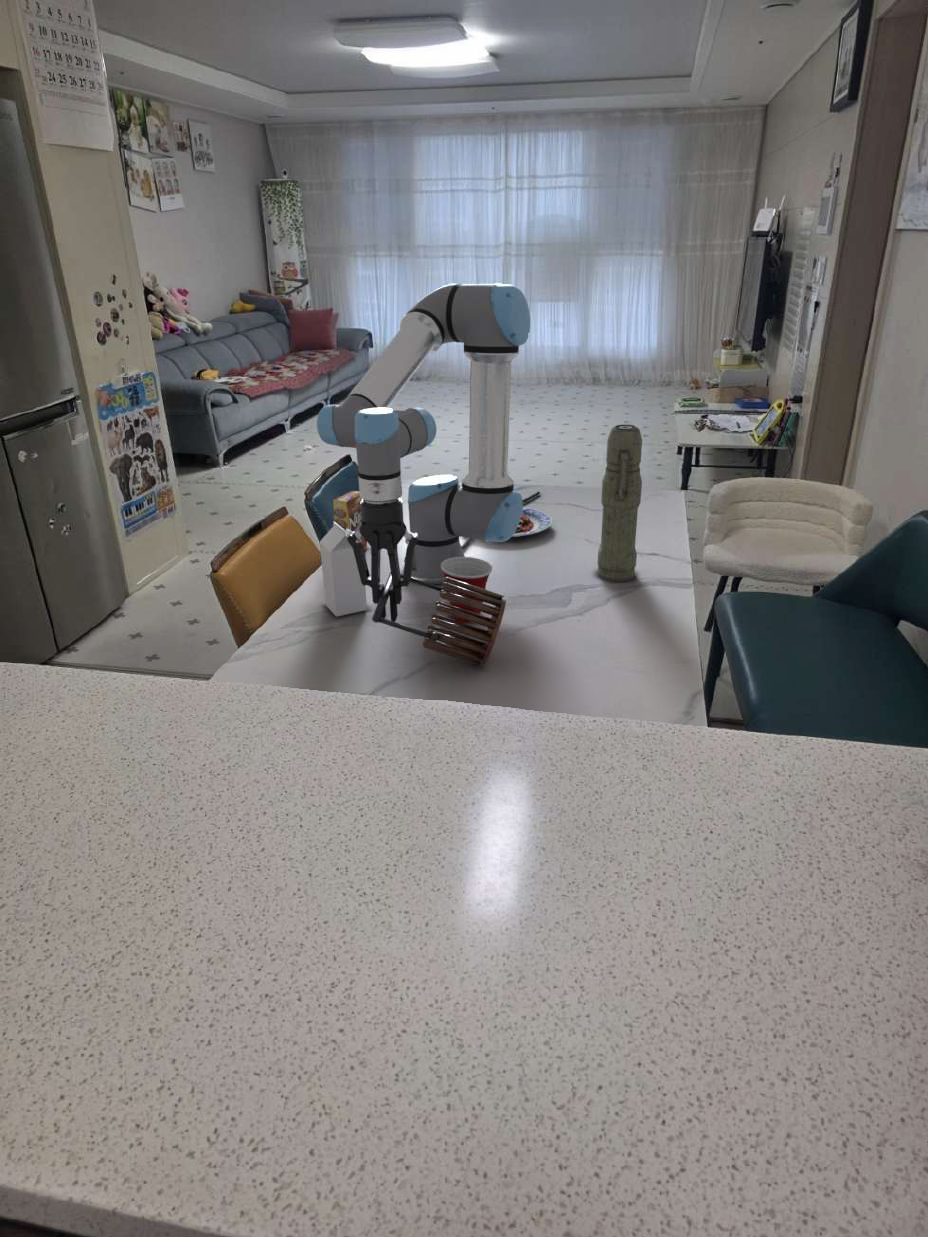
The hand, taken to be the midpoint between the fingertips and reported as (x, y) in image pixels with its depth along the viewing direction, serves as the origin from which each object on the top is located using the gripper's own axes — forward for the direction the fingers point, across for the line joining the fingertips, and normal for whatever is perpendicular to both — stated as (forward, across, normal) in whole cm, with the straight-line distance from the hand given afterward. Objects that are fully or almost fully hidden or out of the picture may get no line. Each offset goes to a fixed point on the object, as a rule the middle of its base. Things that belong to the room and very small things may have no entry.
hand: (388, 618), depth 156 cm
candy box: (+9, -20, +56) cm, 60 cm away
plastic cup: (+8, +13, +19) cm, 25 cm away
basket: (+5, +7, 0) cm, 9 cm away
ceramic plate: (+8, +18, +78) cm, 81 cm away
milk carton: (+8, -14, +22) cm, 27 cm away
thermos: (+8, +46, +45) cm, 65 cm away
